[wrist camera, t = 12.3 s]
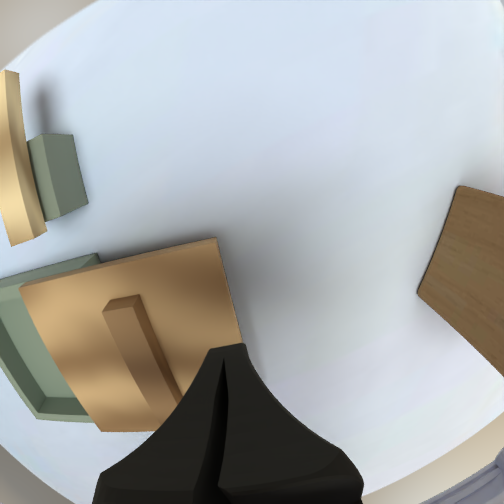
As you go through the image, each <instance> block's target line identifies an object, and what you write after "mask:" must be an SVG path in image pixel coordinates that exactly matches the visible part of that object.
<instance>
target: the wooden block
mask: <svg viewBox="0 0 504 504" xmlns="http://www.w3.org/2000/svg"><path fill="white" fill-rule="evenodd" d="M418 296H419V297H420V298H421V299H422V300H423V301H424V302H426V303H427V304H428V305H429V306H430V307H431V308H432V309H433V310H435V311H436V312H437V313H438V314H439V315H440V316H441V317H442V318H443V319H444V320H446V321H447V322H448V323H449V324H450V325H451V326H452V327H453V328H454V329H455V330H456V331H457V332H459V333H460V334H461V335H462V336H463V337H464V338H465V339H466V340H467V341H468V342H469V343H470V344H471V345H472V346H473V347H474V348H475V349H476V350H477V351H478V352H479V353H480V354H481V355H482V356H484V357H485V358H486V359H487V360H488V361H489V362H490V363H491V364H492V365H493V366H494V367H495V369H496V370H497V371H498V372H499V373H500V374H501V375H502V376H503V377H504V197H502V196H499V195H495V194H492V193H488V192H485V191H481V190H477V189H474V188H470V187H466V186H459V187H458V188H457V190H456V193H455V197H454V200H453V203H452V206H451V209H450V212H449V215H448V218H447V221H446V223H445V226H444V229H443V232H442V234H441V237H440V240H439V242H438V245H437V247H436V250H435V252H434V255H433V257H432V260H431V262H430V265H429V267H428V269H427V272H426V274H425V276H424V278H423V281H422V283H421V285H420V287H419V289H418Z"/></svg>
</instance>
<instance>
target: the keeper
mask: <svg viewBox="0 0 504 504" xmlns="http://www.w3.org/2000/svg"><path fill="white" fill-rule="evenodd" d="M26 143H27V149H28V154H29V160H30V165H31V169H32V174H33V179H34V183H35V187H36V191H37V195H38V199H39V203H40V207H41V211H42V214H43V218H44V221H45V222H46V221H49V220H52V219H55V218H58V217H61V216H63V215H65V214H67V213H69V212H71V211H73V210H75V209H78V208H80V207H82V206H84V205H86V204H88V201H87V197H86V193H85V189H84V185H83V181H82V177H81V172H80V168H79V164H78V159H77V154H76V149H75V144H74V139H73V135H67V134H41V135H39V136H37V137H35V138H33V139H31V140H29V141H27V142H26Z"/></svg>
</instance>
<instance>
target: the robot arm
mask: <svg viewBox="0 0 504 504" xmlns="http://www.w3.org/2000/svg"><path fill="white" fill-rule="evenodd" d="M363 488H364V482H363V478H362V476H361V475H360V473H359V471H358V469H357V468H356V467H355V465H354V464H353V463H352V461H351V460H350V459H349V458H348V456H347V455H346V454H345V453H344V452H343V451H342V449H340V448H338V447H336V446H335V445H333V444H331V443H329V442H328V441H326V440H325V439H323V438H321V437H320V436H318V435H317V434H316V433H314V432H313V431H311V430H310V429H309V428H307V427H306V426H305V425H304V424H302V423H301V422H300V421H299V420H298V419H296V418H295V417H294V416H293V415H292V414H291V413H290V412H289V411H288V410H287V409H286V408H285V407H283V405H282V404H281V403H280V402H279V401H278V400H277V399H276V398H275V397H274V396H273V394H272V393H271V392H270V391H269V389H268V388H267V387H266V385H265V384H264V383H263V381H262V380H261V378H260V377H259V375H258V374H257V372H256V370H255V369H254V367H253V365H252V363H251V361H250V359H249V356H248V352H247V348H246V345H245V344H244V343H237V344H232V345H227V346H221V347H216V348H210V349H209V350H208V352H207V354H206V356H205V358H204V361H203V363H202V365H201V367H200V368H199V370H198V372H197V374H196V376H195V378H194V380H193V381H192V383H191V385H190V387H189V388H188V390H187V391H186V393H185V394H184V396H183V397H182V399H181V401H180V402H179V404H178V405H177V406H176V408H175V409H174V410H173V412H172V413H171V414H170V416H169V417H168V418H167V419H166V420H165V422H164V423H163V424H162V425H161V426H160V427H159V428H158V429H157V430H156V431H155V432H154V433H153V434H152V435H151V436H150V437H149V438H148V439H147V440H146V441H145V442H144V443H143V444H141V445H140V446H139V447H138V448H137V449H135V450H134V451H133V452H132V453H130V454H129V455H128V456H126V457H125V458H124V459H122V460H121V461H119V462H118V463H116V464H115V465H113V466H111V467H110V468H108V469H107V470H105V471H103V472H102V473H100V476H99V479H98V482H97V485H96V489H95V493H94V498H93V502H92V504H363V503H362V500H361V496H362V492H363ZM0 504H3V503H1V502H0ZM420 504H504V448H503V449H502V450H501V451H500V452H499V454H498V455H497V456H496V458H495V460H494V461H493V462H491V463H490V464H488V465H487V466H485V467H484V468H482V469H481V470H479V471H478V472H476V473H475V474H473V475H472V476H470V477H468V478H466V479H465V480H463V481H461V482H460V483H458V484H456V485H455V486H453V487H451V488H449V489H447V490H446V491H444V492H442V493H440V494H438V495H436V496H434V497H432V498H430V499H428V500H426V501H424V502H422V503H420Z"/></svg>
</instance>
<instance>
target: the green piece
mask: <svg viewBox="0 0 504 504" xmlns="http://www.w3.org/2000/svg"><path fill="white" fill-rule="evenodd" d="M97 264H101V263H100V261H99V258H98V255H97V253H94V254H90V255H86V256H82V257H78V258H75V259H71V260H67V261H63V262H60V263H56V264H52V265H49V266H45V267H41V268H38V269H34V270H31V271H27V272H24V273H20V274H17V275H13V276H10V277H6V278H3V279H0V367H1V368H2V370H3V372H4V373H5V375H6V376H7V378H8V379H9V381H10V383H11V384H12V386H13V387H14V389H15V390H16V391H17V393H18V394H19V396H20V397H21V399H22V400H23V401H24V403H25V404H26V406H27V407H28V408H29V410H30V411H31V412H32V414H33V415H34V416H35V417H36V419H40V420H50V421H64V422H84V423H94V421H93V420H92V419H91V417H90V416H89V415H88V413H87V412H86V410H85V409H84V407H83V406H82V405H81V403H80V402H79V400H78V399H77V397H76V396H75V394H74V393H73V391H72V390H71V388H70V387H69V385H68V383H67V382H66V380H65V379H64V377H63V375H62V374H61V372H60V371H59V369H58V367H57V365H56V364H55V362H54V360H53V359H52V357H51V355H50V353H49V351H48V350H47V348H46V346H45V344H44V342H43V340H42V338H41V336H40V335H39V333H38V331H37V329H36V327H35V325H34V323H33V320H32V318H31V316H30V314H29V312H28V310H27V308H26V305H25V303H24V301H23V299H22V296H21V294H20V292H19V289H18V288H19V287H20V286H21V285H23V284H24V283H25V282H29V281H33V280H36V279H40V278H44V277H48V276H52V275H56V274H60V273H64V272H68V271H72V270H76V269H80V268H84V267H88V266H93V265H97Z"/></svg>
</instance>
